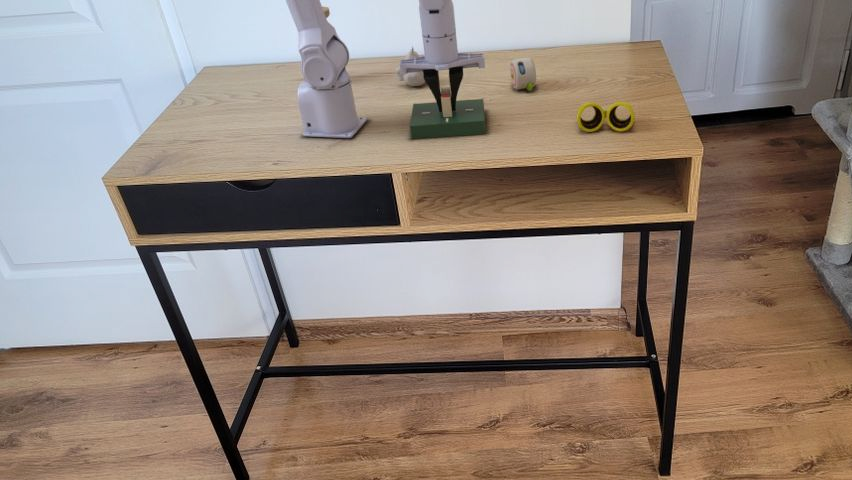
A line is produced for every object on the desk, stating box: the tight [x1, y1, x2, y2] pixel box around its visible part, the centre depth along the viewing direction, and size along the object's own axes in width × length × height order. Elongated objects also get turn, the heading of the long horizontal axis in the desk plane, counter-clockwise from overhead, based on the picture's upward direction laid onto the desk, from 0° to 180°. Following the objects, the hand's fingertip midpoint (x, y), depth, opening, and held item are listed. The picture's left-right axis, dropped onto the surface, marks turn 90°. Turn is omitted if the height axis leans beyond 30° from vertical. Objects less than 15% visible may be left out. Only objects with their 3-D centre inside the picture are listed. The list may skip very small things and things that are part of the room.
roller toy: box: [509, 57, 537, 92], centre depth 146 cm, size 4×6×6 cm
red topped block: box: [440, 86, 452, 117], centre depth 132 cm, size 5×2×4 cm, turn 4°
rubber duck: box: [394, 46, 426, 87], centre depth 150 cm, size 5×7×8 cm
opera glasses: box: [576, 101, 636, 133], centre depth 129 cm, size 10×5×5 cm, turn 84°
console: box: [409, 98, 486, 140], centre depth 134 cm, size 13×10×3 cm
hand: (447, 109), depth 133 cm, fingers closed on red topped block, 2 cm apart
